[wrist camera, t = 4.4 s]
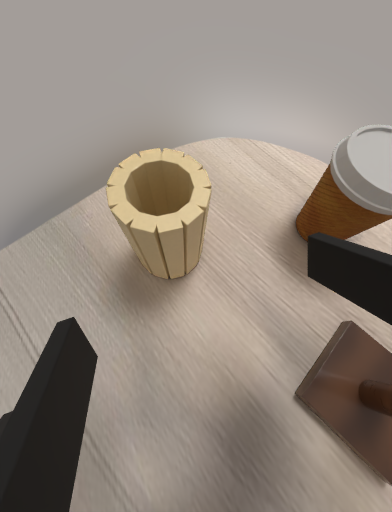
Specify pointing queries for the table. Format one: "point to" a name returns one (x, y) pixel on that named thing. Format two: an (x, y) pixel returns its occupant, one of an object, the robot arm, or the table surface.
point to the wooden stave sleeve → (161, 209)
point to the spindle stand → (355, 395)
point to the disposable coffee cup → (352, 187)
